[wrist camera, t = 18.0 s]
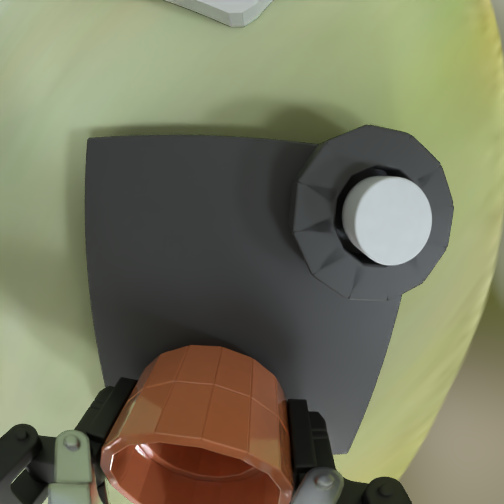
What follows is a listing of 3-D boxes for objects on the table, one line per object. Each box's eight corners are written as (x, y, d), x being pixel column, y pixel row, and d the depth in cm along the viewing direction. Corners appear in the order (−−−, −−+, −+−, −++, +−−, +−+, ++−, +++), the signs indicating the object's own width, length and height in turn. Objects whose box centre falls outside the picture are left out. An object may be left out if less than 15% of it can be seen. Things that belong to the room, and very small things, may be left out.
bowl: (119, 358, 12) (65, 438, 7) (251, 317, 11) (244, 415, 6) (186, 449, 13) (166, 528, 8) (302, 424, 12) (314, 515, 7)
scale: (107, 125, 11) (67, 115, 8) (418, 150, 11) (459, 146, 8) (126, 413, 14) (108, 450, 12) (353, 433, 14) (365, 472, 11)
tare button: (345, 170, 9) (359, 170, 7) (415, 182, 8) (437, 184, 7) (336, 250, 9) (348, 262, 8) (405, 256, 9) (424, 268, 8)
